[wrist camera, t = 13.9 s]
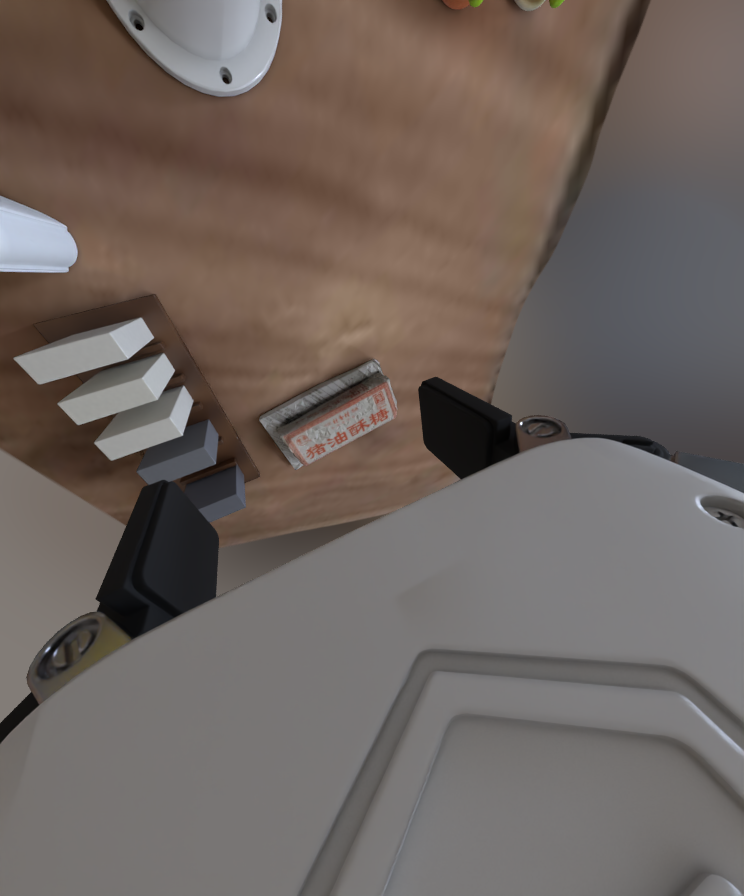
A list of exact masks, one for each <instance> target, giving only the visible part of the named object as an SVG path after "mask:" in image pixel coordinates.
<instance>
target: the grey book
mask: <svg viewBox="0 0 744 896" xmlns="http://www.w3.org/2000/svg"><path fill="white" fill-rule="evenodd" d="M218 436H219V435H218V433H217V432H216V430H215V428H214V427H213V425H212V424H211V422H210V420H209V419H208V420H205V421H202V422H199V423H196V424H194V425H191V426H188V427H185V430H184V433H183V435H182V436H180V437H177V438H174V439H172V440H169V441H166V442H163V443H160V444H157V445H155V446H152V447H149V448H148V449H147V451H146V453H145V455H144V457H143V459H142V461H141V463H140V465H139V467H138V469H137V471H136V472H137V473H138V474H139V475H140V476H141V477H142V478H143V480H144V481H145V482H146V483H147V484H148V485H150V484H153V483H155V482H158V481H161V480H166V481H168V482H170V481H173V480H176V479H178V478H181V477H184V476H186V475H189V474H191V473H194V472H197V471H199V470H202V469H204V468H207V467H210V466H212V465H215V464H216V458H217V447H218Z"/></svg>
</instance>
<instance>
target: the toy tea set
mask: <svg viewBox="0 0 744 896" xmlns="http://www.w3.org/2000/svg"><path fill="white" fill-rule="evenodd" d="M442 1H443V2H444V3H445V4H446V5H447V6H448V7H450V8H452V9H462V8H465V7H467V6H469V5H471V6H472V7H477V6H479V5H480V4H481V3H482V2H483V0H442ZM514 1H515V2H516V4H517V5H518V6H519V7H520V8H521V9H522V10H526V11H532V10H535V9H537V8H538V7H540V6H541V5H542V4H543V3H544V2H545V0H514ZM563 1H564V0H549V2H550V6H551V7H552V8H556V7H558V6H560V5H561V4H562V2H563Z"/></svg>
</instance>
